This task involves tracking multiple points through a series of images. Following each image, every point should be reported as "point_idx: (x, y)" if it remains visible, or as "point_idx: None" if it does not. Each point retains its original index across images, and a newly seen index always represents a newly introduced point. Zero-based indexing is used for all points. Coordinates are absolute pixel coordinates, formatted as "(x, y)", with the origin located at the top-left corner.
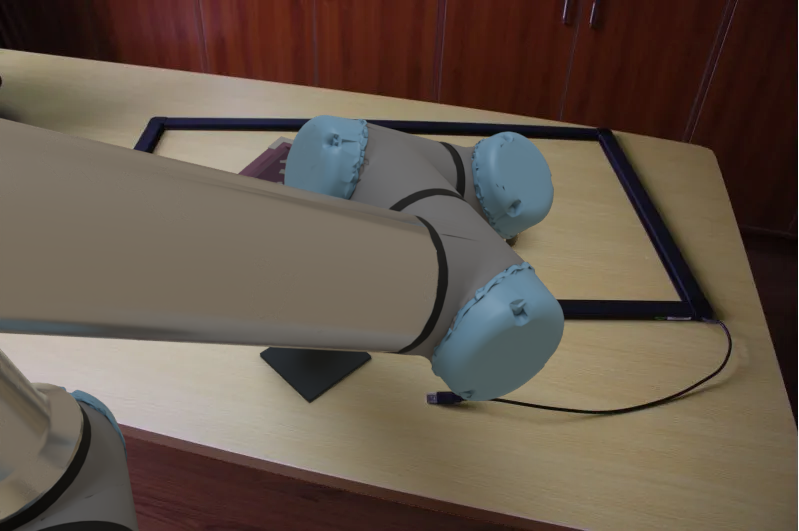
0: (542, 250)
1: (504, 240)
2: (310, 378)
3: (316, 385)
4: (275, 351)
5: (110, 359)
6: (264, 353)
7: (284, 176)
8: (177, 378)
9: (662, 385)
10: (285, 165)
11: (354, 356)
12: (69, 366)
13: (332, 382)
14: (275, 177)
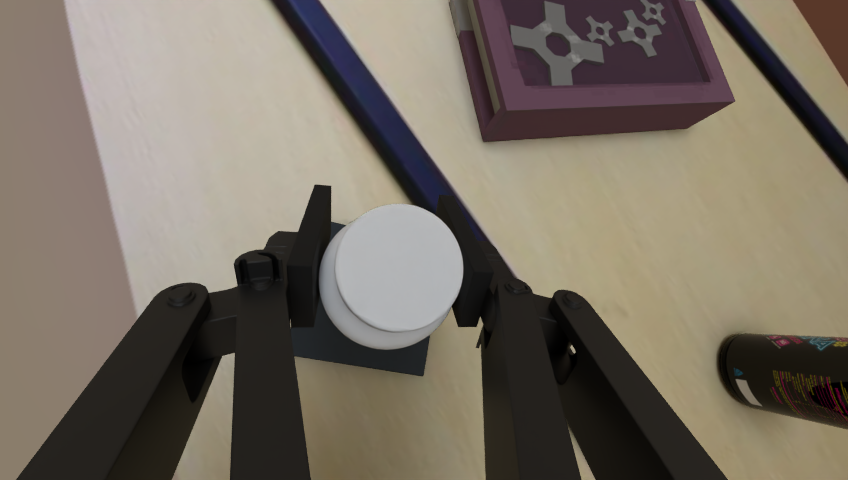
0: (774, 454)
1: (756, 403)
2: (323, 324)
3: (317, 342)
4: None
5: (189, 42)
6: None
7: (623, 23)
8: (212, 146)
9: None
10: (641, 10)
11: (404, 353)
12: (145, 3)
13: (338, 360)
14: (612, 13)
